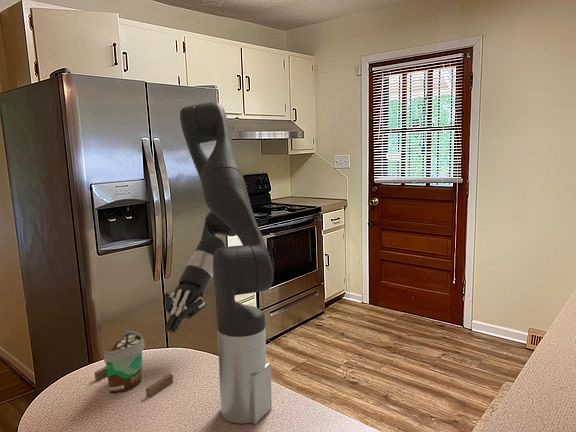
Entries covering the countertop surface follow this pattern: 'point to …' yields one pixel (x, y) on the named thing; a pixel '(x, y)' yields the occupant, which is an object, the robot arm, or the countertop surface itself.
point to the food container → (125, 363)
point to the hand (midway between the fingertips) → (169, 331)
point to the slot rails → (150, 389)
